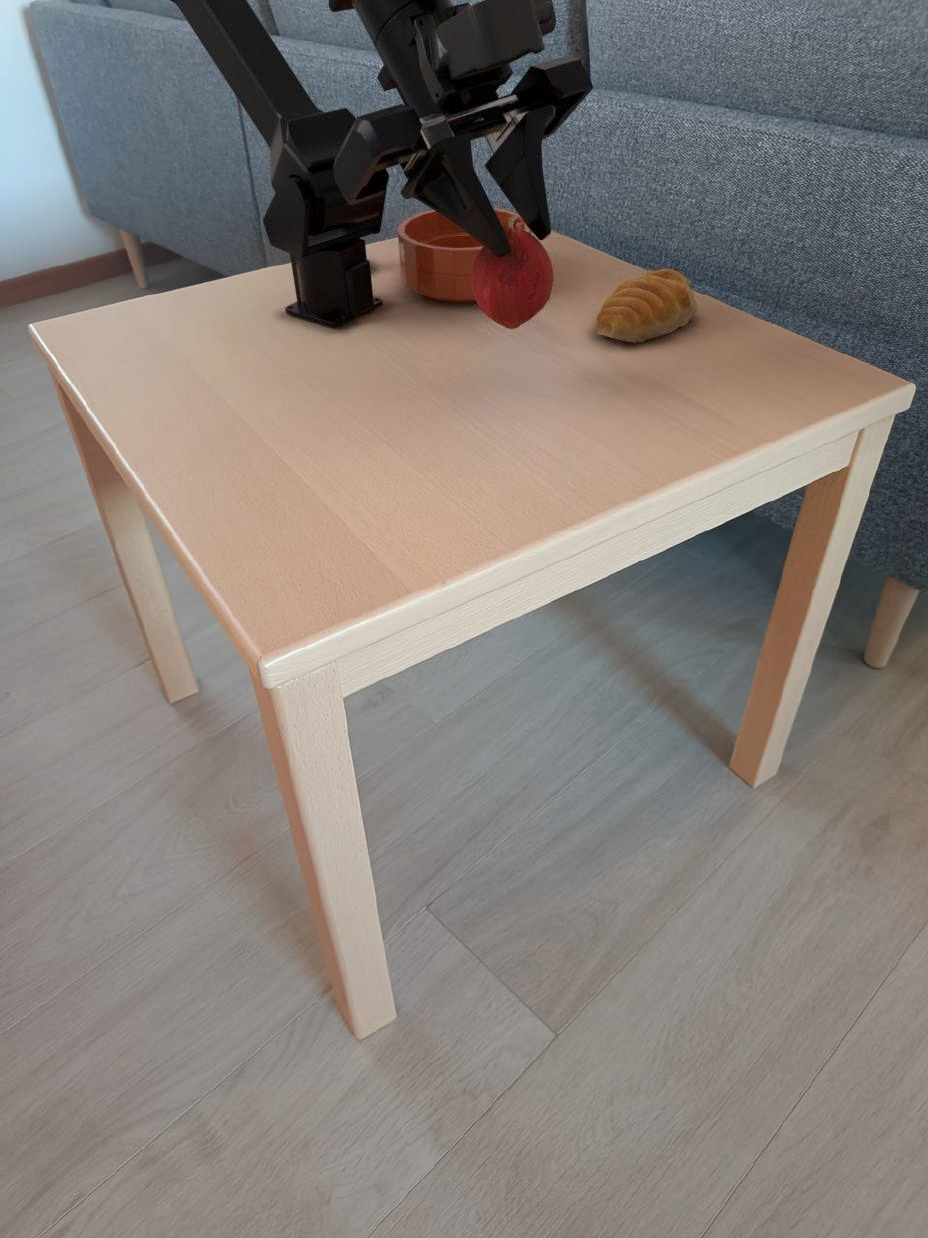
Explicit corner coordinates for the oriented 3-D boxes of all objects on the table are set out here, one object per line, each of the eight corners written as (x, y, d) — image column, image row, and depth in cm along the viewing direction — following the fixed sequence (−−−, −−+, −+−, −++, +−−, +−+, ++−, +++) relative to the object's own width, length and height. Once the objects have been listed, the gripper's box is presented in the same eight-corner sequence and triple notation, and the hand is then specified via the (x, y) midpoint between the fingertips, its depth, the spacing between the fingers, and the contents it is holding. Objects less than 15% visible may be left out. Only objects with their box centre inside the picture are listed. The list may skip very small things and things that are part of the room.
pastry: (643, 356, 72) (647, 309, 69) (574, 335, 75) (576, 290, 73) (701, 318, 77) (707, 273, 75) (634, 300, 81) (638, 257, 78)
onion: (546, 350, 63) (550, 237, 58) (466, 345, 64) (462, 233, 58) (555, 311, 67) (560, 202, 62) (480, 307, 68) (478, 199, 62)
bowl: (375, 288, 84) (370, 234, 81) (452, 250, 92) (450, 198, 88) (481, 316, 79) (480, 259, 75) (554, 273, 86) (556, 219, 83)
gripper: (333, -48, 47) (473, 224, 49) (582, -96, 55) (695, 140, 57) (280, 88, 57) (399, 310, 59) (498, 31, 65) (596, 228, 67)
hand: (525, 245), depth 60 cm, fingers closed on onion, 3 cm apart
